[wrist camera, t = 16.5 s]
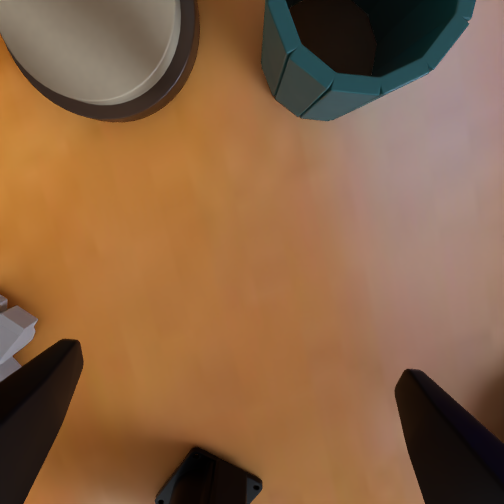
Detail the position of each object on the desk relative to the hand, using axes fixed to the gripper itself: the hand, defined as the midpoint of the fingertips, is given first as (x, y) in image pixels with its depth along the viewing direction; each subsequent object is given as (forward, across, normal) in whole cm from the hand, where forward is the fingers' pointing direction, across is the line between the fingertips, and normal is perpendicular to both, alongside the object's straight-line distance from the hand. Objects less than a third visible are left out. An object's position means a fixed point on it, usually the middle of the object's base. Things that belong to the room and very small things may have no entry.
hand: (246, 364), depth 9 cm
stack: (+15, +9, -8) cm, 19 cm away
